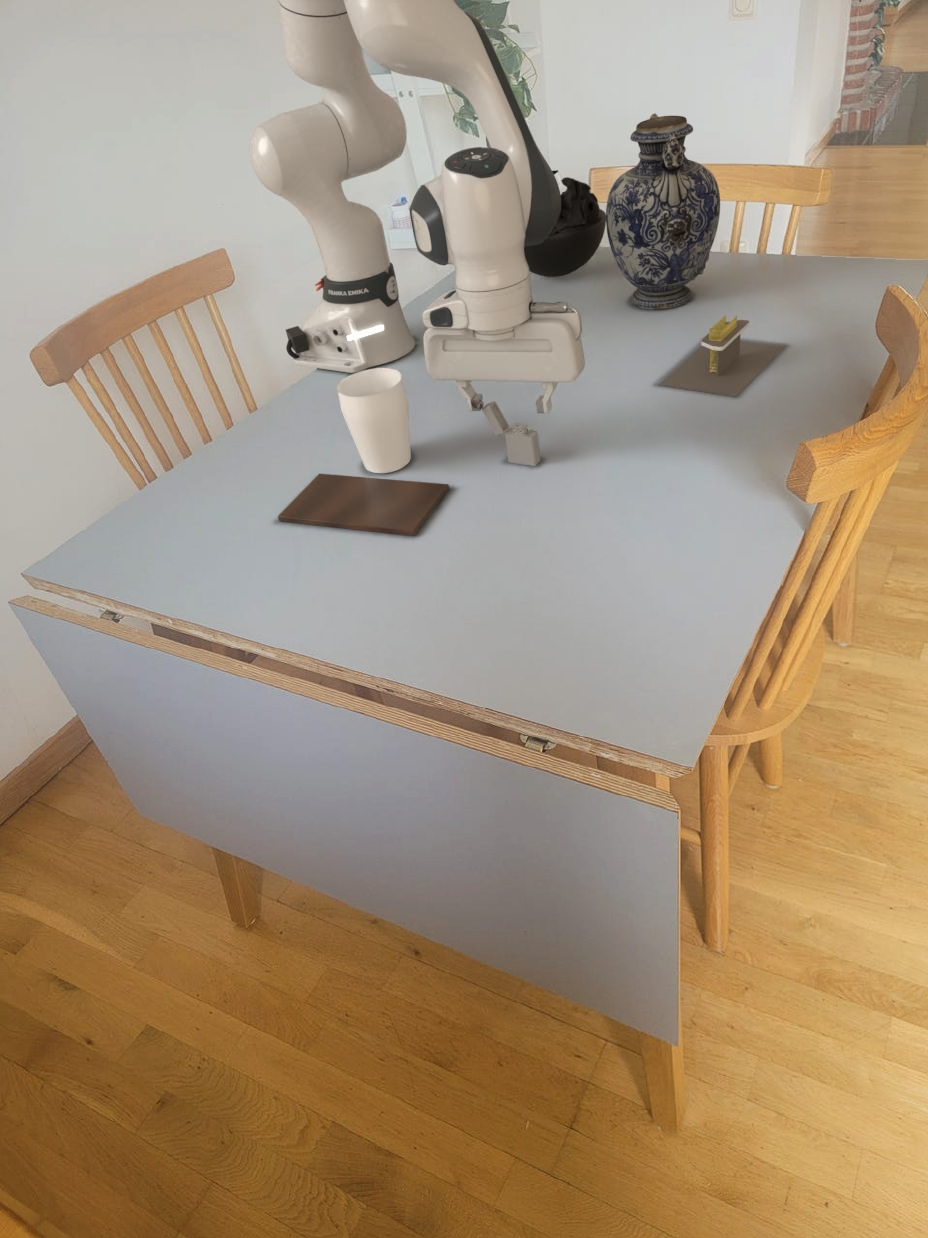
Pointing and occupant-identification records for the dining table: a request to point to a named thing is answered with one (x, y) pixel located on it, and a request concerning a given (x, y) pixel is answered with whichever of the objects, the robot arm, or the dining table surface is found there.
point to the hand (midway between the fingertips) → (510, 410)
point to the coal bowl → (569, 233)
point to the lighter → (514, 437)
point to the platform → (723, 361)
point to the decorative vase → (662, 215)
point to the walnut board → (365, 504)
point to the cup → (377, 417)
